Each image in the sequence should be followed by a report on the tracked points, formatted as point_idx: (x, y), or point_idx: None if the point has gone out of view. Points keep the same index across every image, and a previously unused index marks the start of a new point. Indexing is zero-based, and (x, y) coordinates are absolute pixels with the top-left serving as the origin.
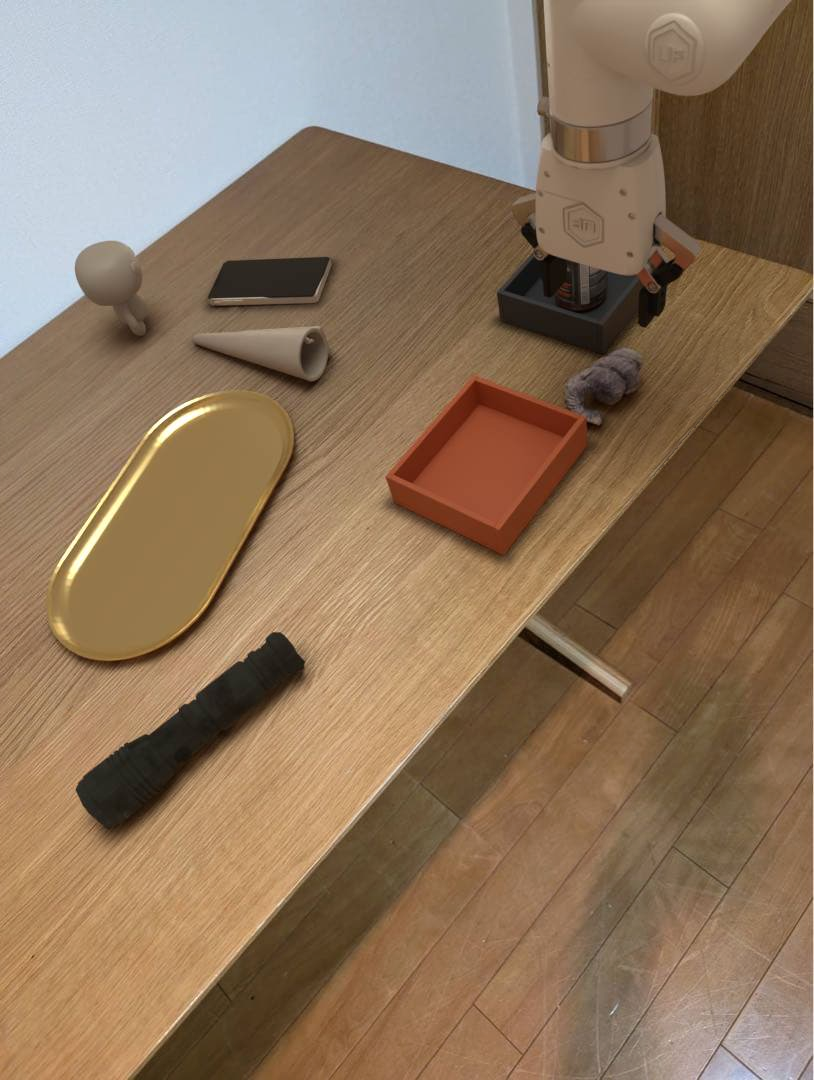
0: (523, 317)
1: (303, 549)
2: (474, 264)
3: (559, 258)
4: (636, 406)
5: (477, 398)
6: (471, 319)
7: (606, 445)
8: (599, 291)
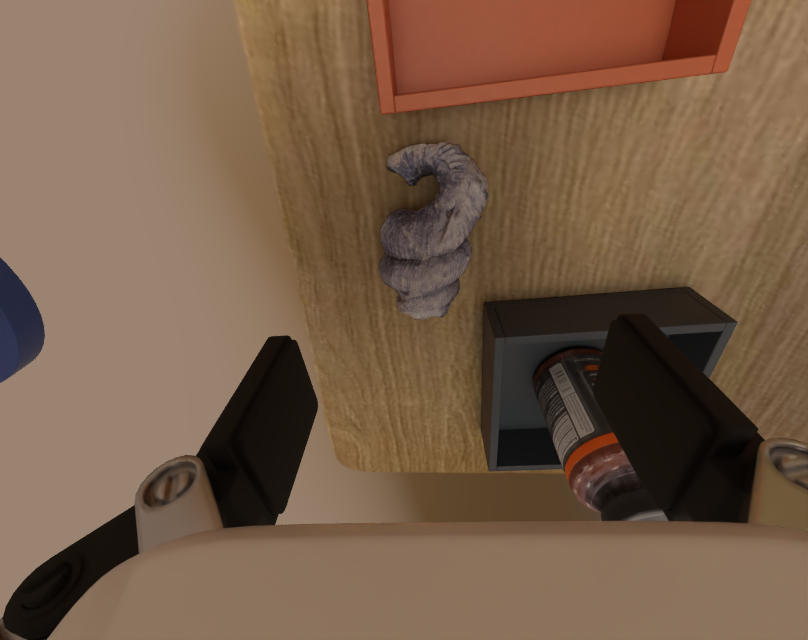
0: (650, 303)
1: None
2: (779, 364)
3: (661, 461)
4: (375, 239)
5: (675, 54)
6: (751, 266)
7: (359, 131)
8: (542, 390)
